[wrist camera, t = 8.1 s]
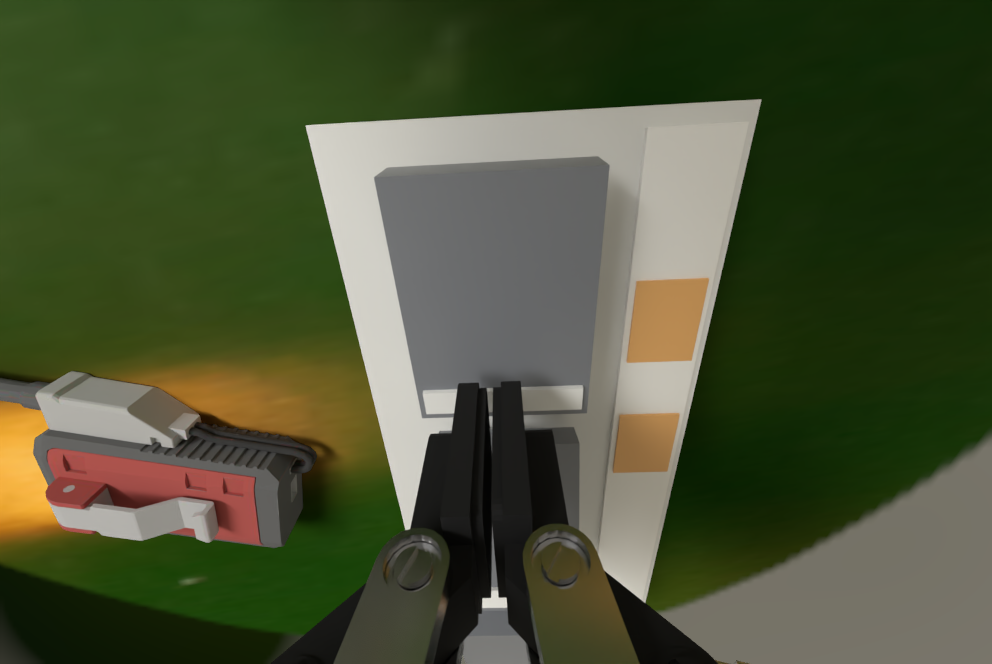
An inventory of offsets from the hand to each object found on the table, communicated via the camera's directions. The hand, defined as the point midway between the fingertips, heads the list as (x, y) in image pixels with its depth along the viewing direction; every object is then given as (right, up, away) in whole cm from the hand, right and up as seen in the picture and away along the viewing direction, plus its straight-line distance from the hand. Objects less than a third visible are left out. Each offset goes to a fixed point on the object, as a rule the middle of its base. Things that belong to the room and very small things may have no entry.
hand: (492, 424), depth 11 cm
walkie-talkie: (-20, -3, +11) cm, 23 cm away
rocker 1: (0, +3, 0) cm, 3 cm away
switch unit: (+2, -2, +9) cm, 10 cm away
